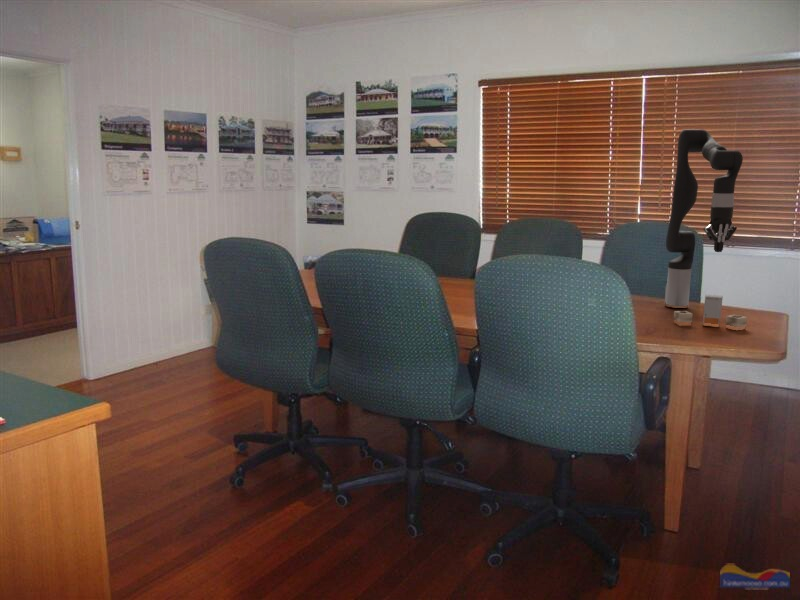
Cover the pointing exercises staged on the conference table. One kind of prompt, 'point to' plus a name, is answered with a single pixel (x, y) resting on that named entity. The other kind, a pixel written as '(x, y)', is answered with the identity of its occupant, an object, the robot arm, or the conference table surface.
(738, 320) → the marked block
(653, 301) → the conference table surface
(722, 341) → the conference table surface
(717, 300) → the skincare box
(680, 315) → the marked block
